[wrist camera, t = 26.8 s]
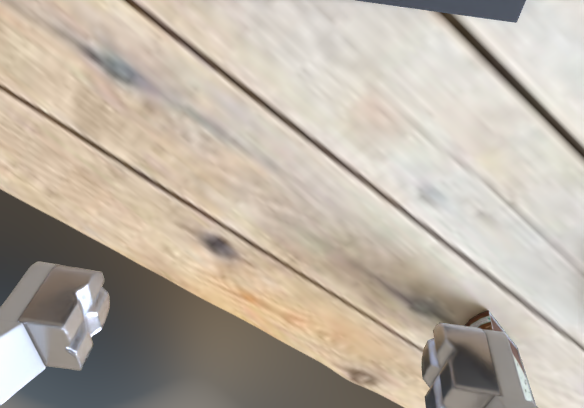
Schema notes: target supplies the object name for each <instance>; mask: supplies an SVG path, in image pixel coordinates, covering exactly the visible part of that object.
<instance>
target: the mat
mask: <svg viewBox="0 0 584 408" xmlns="http://www.w3.org/2000/svg"><path fill="white" fill-rule="evenodd" d="M357 1H364V2H371V3H379V4H386V5H393V6H400V7H407V8H415V9H422V10H429V11H436V12H443V13H451V14H458V15H465V16H472V17H479V18H487V19H494V20H501V21H508V22H515V23H516V22H517V20H518V18H519V16H520V13H521V11H522V8H523V6H524V4H525V1H526V0H357Z"/></svg>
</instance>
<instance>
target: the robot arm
mask: <svg viewBox="0 0 584 408" xmlns="http://www.w3.org/2000/svg"><path fill="white" fill-rule="evenodd" d="M103 283H104V277H103V275H102V272H98V271H92V270H86V269H81V268H75V267H69V266H62V265H58V264H51V263H44V262H36V263H35V264H33V265H32V266H30V268H29V269H28V270H27V272H26V273H25V274H24V276H23V277H22V279H21V280H20V281H19V283H18V284H17V286H16V287H15V288H14V290H13V291H12V292H11V294H10V295H9V297H8V298H7V299H6V301H5V302H4V303H3V305H2V306H1V307H0V405H2V404H3V403H4V402H5V401H6V400H8V399H9V398H10V397H11V396H12V395H13V394H15V393H16V392H17V391H18V390H20V389H21V388H22V387H23V386H25V385H26V384H27V383H28V382H29V381H31V380H32V379H33V378H34V377H35V376H37V375H38V374H39V373H40V372H42V371H43V370H44V369H45V368H46V367H45V366H50V367H57V368H66V369H74V370H81V369H82V367H83V365H84V363H85V361H86V359H87V357H88V355H89V353H90V351H91V349H92V347H93V342H92V338H91V336H92V335H94V334H95V333H97V332H98V331H100V330H101V329H102V327H103V325H104V323H105V321H106V319H107V315H108V310H109V307H110V303H109V302H110V301H109V300H110V299H109V294H108V292H107V291H106V290H105V289H104V288H102V285H103ZM433 333H434V338H433V339H431V340H428V341H427V343H426V345H425V347H424V350H423V356H422V376H423V380H424V381H425V382H426V384H427V385H428V386H429V388H430V389H429V391H428V392H427V394H426V396H425V403H426V408H538V407H537V406H536V405H535V404H534V402H533V401H528V400H526V398H525V394H524V391H523V388H522V384H521V381H520V377H519V374H518V371H517V367H516V364H515V360H514V357H513V353H512V350H511V347H510V343H509V340H508V337H507V336H506V334H505V333H504V332H501V331H493V330H485V329H481V328H476V327H469V326H461V325H454V324H447V323H439V324H437V325H436V326H435V328H434V330H433Z"/></svg>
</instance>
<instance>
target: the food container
mask: <svg viewBox="0 0 584 408" xmlns="http://www.w3.org/2000/svg"><path fill="white" fill-rule="evenodd" d="M465 326H469V327H476V328H481V329H485V330H493V331H501V332H504V333H505V334H506V332H505V331H504V330H503V329H502V327H501V326H500V325H499V323H498V322H497V321H496V320H495V318H494V317H493V316H492V314H491V313H490V312H489V311H486V312H483V313H480V314H478V315H477V316H475V317H473V318H472V319H470V320H469V321H468V323H467V324H466V325H465ZM506 336H507V337H508V340H509V343H510V347H511V350H512V353H513V357H514V360H515V364H516V367H517V371H518V374H519V377H520V381H521V384H522V388H523V391H524V394H525V398H526V400H528V401H533V402H534V404H535V405H536V403H535V400H534V397H533V394H532V391H531V388H530V385H529V382H528V379H527V375H526V372H525V369H524V366H523V363H522V360H521V357H520V354H519V351H518V348H517V347H516V345H515V344H514V343H513V341H512V340H511V339H510V338H509V336H508V335H507V334H506Z"/></svg>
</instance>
